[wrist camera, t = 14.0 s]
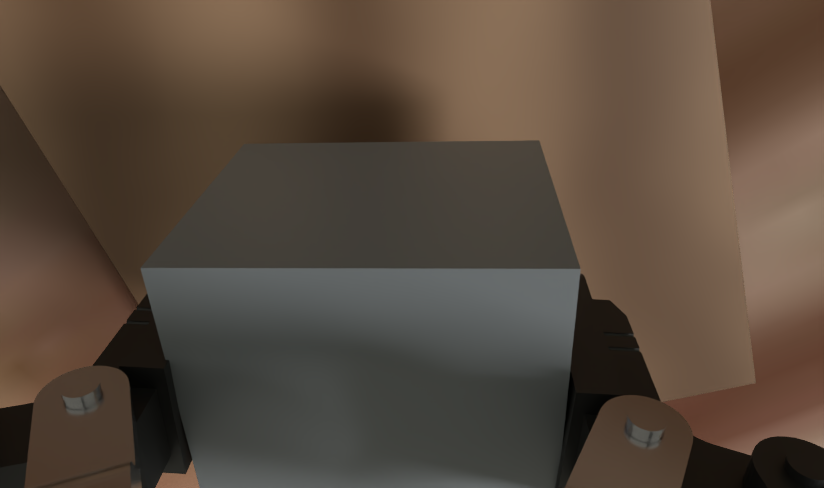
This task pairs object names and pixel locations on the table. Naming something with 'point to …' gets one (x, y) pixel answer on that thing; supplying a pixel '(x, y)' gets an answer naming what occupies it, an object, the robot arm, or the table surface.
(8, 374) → the table surface
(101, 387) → the robot arm
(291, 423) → the matte grey cube
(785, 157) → the table surface
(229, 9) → the wooden square tile
